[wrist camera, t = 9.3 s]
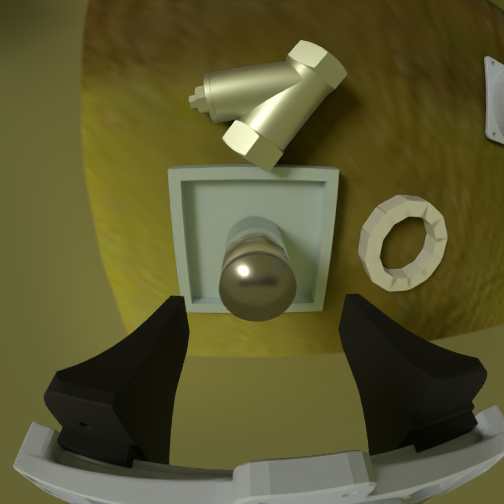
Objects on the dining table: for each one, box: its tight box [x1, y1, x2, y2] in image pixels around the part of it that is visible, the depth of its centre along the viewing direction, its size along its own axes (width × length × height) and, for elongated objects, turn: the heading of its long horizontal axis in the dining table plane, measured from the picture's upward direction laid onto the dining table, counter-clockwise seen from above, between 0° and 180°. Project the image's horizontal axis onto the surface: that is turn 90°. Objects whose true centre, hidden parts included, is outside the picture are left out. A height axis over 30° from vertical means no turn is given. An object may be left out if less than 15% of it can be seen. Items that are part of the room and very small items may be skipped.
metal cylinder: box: [219, 216, 297, 321], centre depth 18 cm, size 4×4×6 cm
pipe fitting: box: [189, 40, 347, 172], centre depth 15 cm, size 8×4×7 cm
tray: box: [168, 164, 339, 313], centre depth 21 cm, size 11×11×1 cm
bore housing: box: [358, 195, 447, 292], centre depth 21 cm, size 8×8×2 cm
